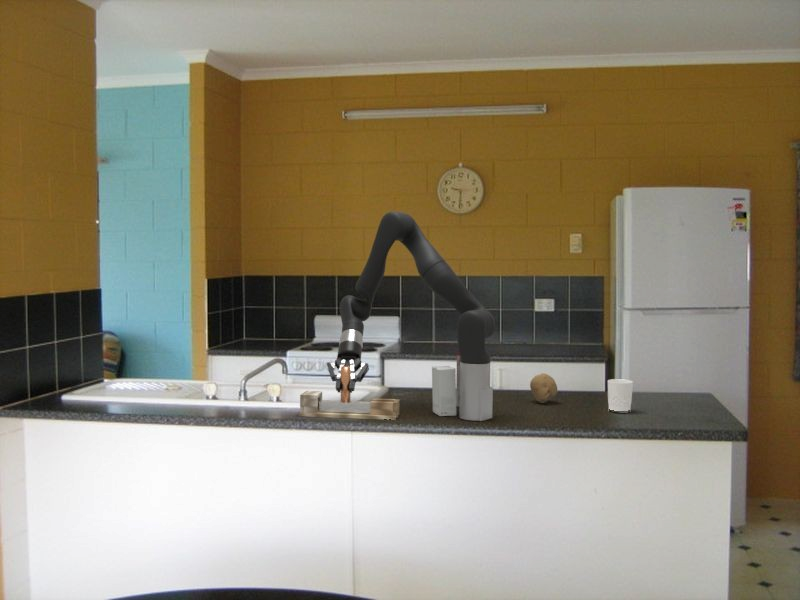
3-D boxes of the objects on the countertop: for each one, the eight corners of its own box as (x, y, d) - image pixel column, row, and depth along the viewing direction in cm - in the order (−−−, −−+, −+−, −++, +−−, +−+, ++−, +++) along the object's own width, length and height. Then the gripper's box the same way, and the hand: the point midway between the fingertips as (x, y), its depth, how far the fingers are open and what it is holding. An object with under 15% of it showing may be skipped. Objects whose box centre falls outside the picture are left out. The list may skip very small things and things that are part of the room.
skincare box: (456, 416, 252) (457, 368, 251) (438, 416, 250) (438, 369, 250) (449, 410, 260) (449, 364, 259) (430, 411, 259) (431, 365, 258)
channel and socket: (399, 414, 253) (399, 393, 253) (396, 419, 245) (396, 398, 245) (305, 411, 257) (305, 390, 257) (298, 416, 249) (298, 394, 249)
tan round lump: (549, 399, 281) (549, 371, 280) (562, 404, 273) (562, 375, 272) (525, 401, 278) (526, 372, 278) (537, 405, 270) (538, 376, 269)
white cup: (615, 408, 267) (615, 378, 266) (636, 412, 261) (637, 381, 260) (602, 411, 261) (602, 380, 261) (624, 415, 256) (624, 383, 255)
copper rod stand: (371, 411, 252) (372, 366, 251) (370, 413, 249) (370, 368, 248) (321, 409, 254) (321, 365, 253) (319, 411, 251) (319, 366, 250)
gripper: (327, 339, 258) (320, 383, 246) (371, 340, 257) (366, 384, 245) (330, 353, 263) (323, 397, 252) (373, 354, 262) (368, 398, 251)
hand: (344, 390), depth 249 cm, fingers closed on copper rod stand, 3 cm apart
